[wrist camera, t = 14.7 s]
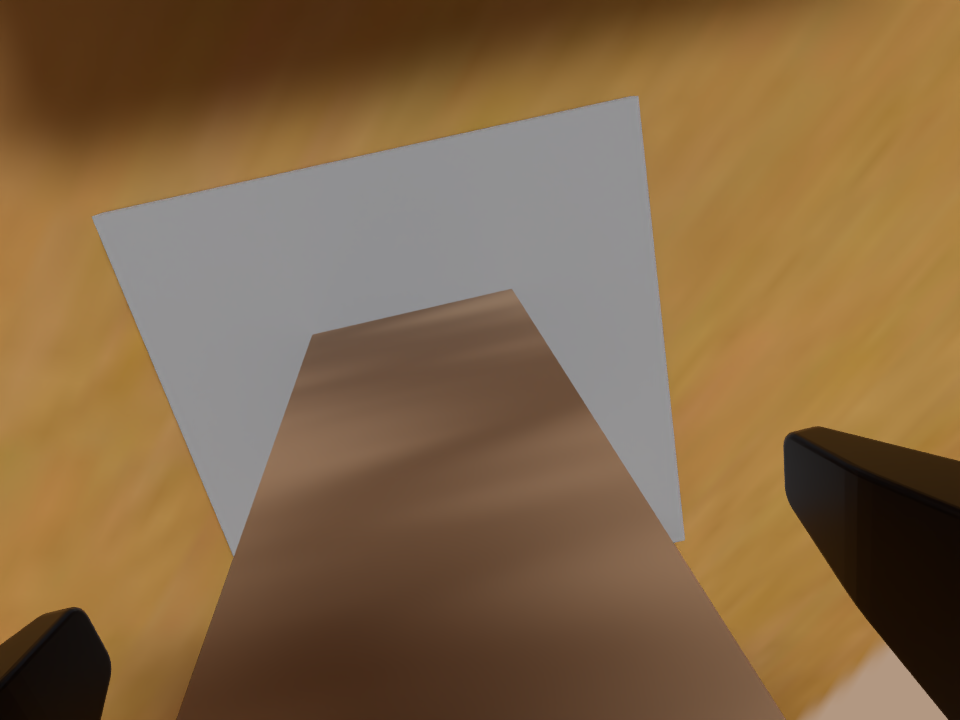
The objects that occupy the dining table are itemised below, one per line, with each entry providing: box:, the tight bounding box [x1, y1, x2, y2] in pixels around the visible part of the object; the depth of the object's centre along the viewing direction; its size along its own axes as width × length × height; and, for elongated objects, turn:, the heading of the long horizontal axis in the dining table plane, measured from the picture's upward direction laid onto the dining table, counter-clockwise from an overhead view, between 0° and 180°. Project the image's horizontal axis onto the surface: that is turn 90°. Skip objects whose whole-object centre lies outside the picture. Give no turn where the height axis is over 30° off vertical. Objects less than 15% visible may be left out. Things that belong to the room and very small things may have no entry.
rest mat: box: [92, 96, 685, 556], centre depth 13 cm, size 9×9×1 cm
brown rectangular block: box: [176, 289, 786, 720], centre depth 8 cm, size 4×4×10 cm
